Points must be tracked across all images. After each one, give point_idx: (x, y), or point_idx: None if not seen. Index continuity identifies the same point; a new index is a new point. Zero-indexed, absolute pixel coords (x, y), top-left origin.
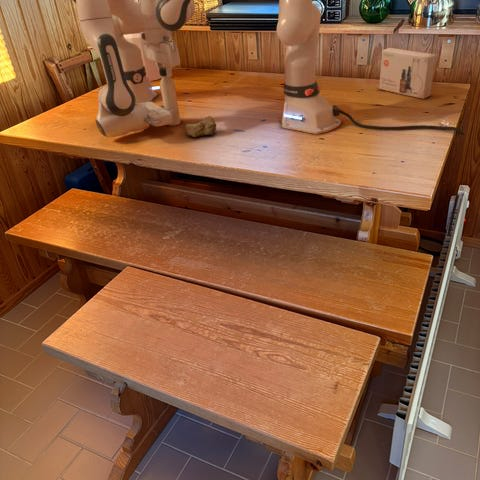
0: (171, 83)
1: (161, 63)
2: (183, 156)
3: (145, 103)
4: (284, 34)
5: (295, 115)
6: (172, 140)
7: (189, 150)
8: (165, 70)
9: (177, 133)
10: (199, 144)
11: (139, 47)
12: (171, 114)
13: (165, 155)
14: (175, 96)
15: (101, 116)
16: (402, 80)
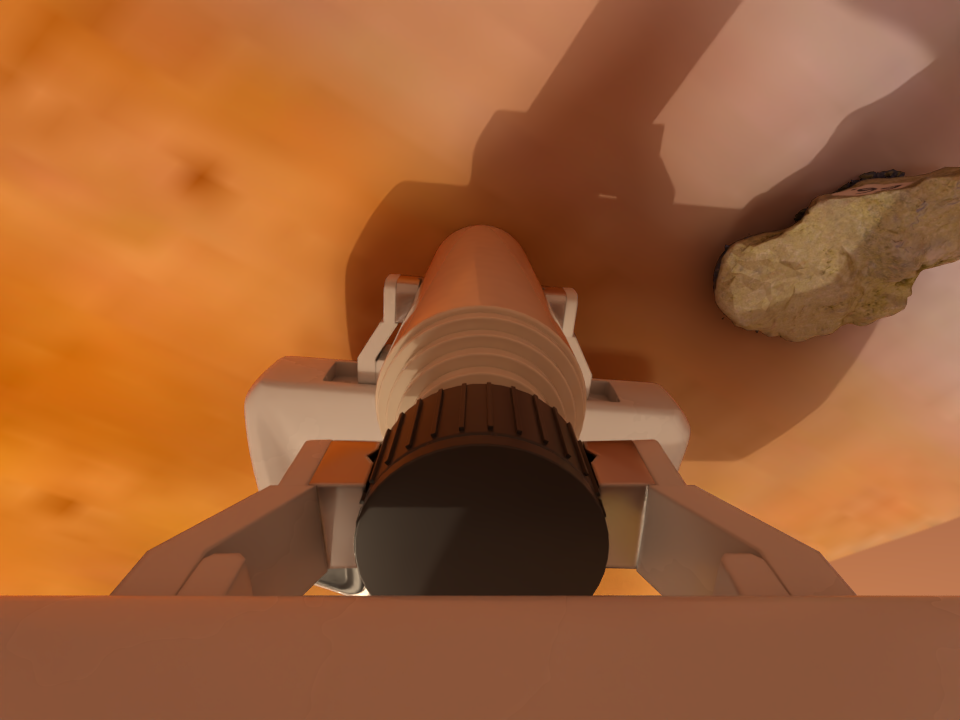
0: (583, 389)
1: (248, 580)
2: (951, 483)
3: (280, 450)
4: None
5: None
6: (726, 423)
7: (929, 427)
8: (590, 573)
9: (662, 351)
10: (927, 347)
11: None
12: (684, 416)
13: (851, 532)
14: (546, 299)
15: None
16: None
